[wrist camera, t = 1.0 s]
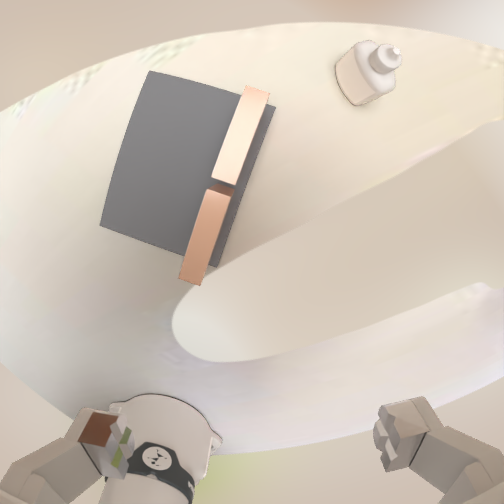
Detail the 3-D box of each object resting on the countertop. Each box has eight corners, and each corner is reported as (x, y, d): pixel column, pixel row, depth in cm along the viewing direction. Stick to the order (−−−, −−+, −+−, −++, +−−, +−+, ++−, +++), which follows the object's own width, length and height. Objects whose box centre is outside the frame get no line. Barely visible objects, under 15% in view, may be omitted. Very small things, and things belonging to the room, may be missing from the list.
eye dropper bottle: (332, 101, 31) (372, 73, 20) (334, 58, 30) (372, 16, 18) (368, 109, 31) (419, 88, 20) (370, 66, 30) (418, 31, 18)
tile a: (211, 256, 35) (200, 286, 27) (193, 250, 35) (177, 278, 26) (234, 189, 33) (230, 197, 25) (216, 182, 33) (206, 188, 24)
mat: (217, 266, 36) (216, 267, 36) (100, 225, 34) (99, 225, 34) (275, 107, 31) (275, 107, 31) (149, 71, 30) (149, 70, 29)
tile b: (238, 180, 33) (234, 185, 24) (219, 174, 33) (210, 176, 24) (263, 112, 31) (269, 93, 22) (245, 105, 31) (245, 84, 22)
